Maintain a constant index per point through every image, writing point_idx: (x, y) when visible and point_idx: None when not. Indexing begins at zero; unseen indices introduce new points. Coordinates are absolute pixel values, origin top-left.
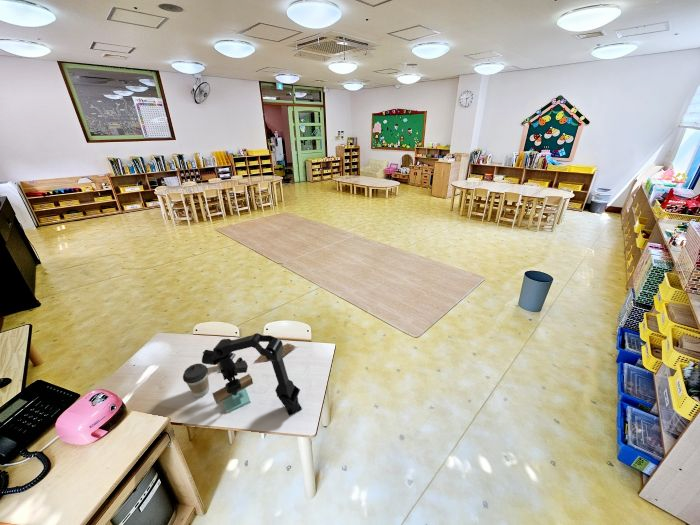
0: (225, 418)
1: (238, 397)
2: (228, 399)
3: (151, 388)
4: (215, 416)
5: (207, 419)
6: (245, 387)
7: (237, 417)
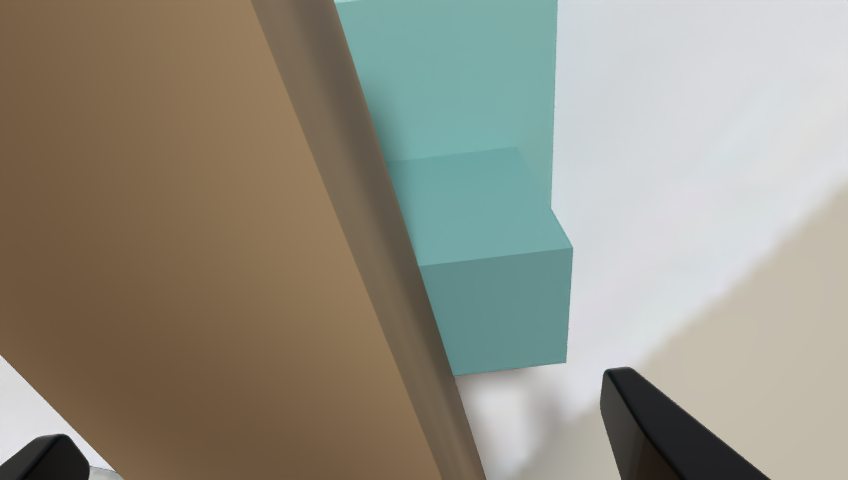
0: (598, 334)
1: (562, 259)
2: None
3: None
4: (502, 412)
5: (495, 464)
6: (352, 67)
7: (690, 213)
